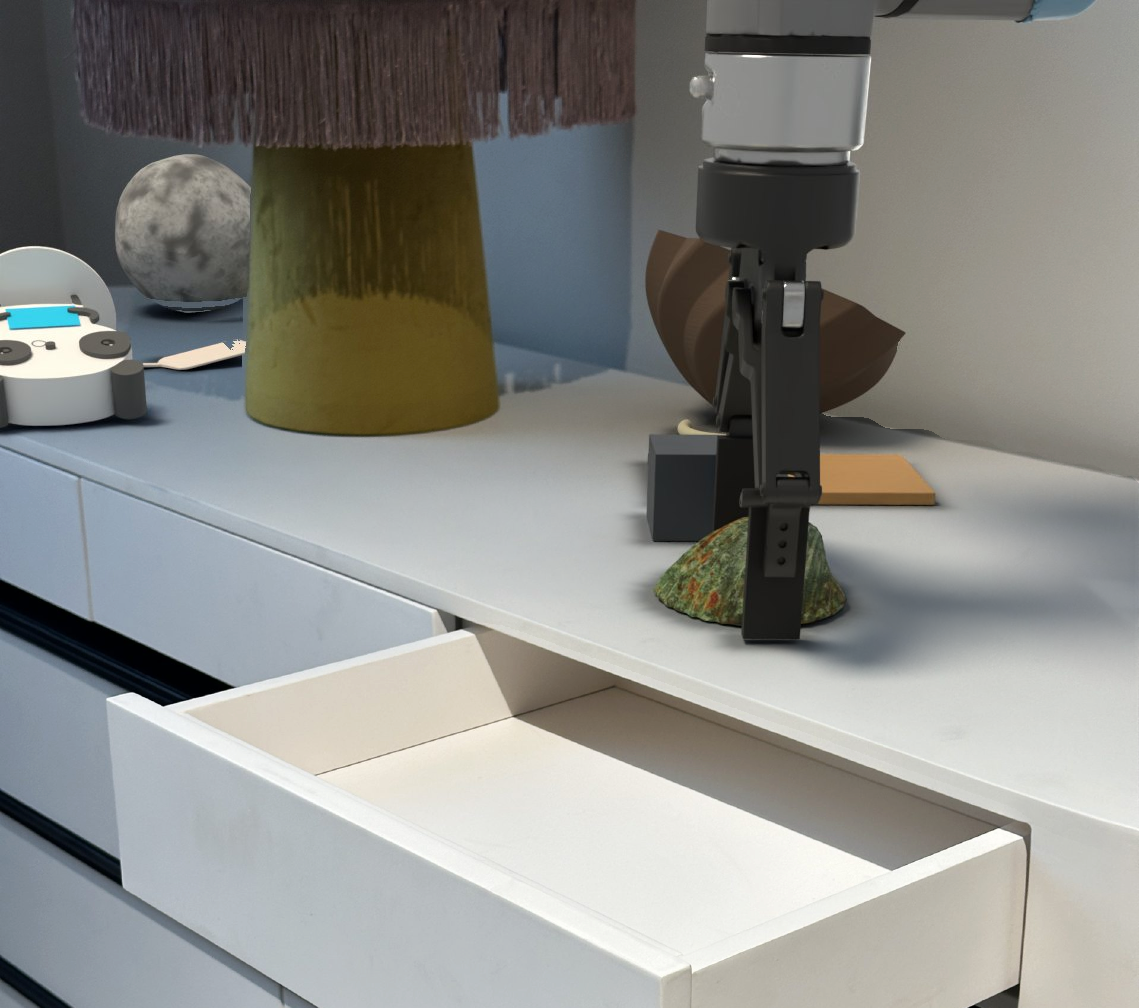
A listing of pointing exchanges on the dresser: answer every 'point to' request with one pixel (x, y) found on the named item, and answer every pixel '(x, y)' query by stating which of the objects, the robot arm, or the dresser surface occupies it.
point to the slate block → (681, 486)
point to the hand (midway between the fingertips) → (751, 593)
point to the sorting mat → (871, 481)
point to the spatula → (200, 356)
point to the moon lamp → (185, 231)
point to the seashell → (740, 578)
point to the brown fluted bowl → (697, 310)
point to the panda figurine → (62, 344)
